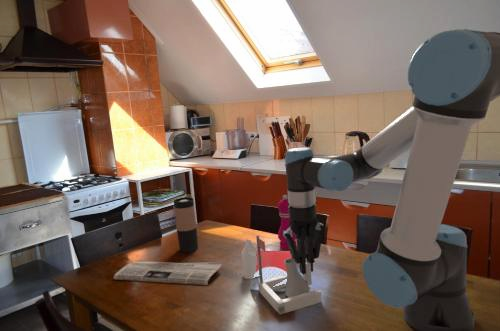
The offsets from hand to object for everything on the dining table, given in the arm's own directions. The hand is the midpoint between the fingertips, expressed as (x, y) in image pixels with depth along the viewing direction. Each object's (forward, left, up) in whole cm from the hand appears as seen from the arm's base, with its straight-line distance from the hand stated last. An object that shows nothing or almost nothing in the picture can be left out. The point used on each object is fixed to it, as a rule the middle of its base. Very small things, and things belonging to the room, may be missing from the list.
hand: (307, 282), depth 107 cm
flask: (-1, +3, -2) cm, 4 cm away
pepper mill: (+32, -10, -2) cm, 34 cm away
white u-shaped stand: (-1, +6, -2) cm, 6 cm away
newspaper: (+33, +34, -3) cm, 47 cm away
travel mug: (+51, +24, -2) cm, 57 cm away
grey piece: (+17, +11, -3) cm, 20 cm away
